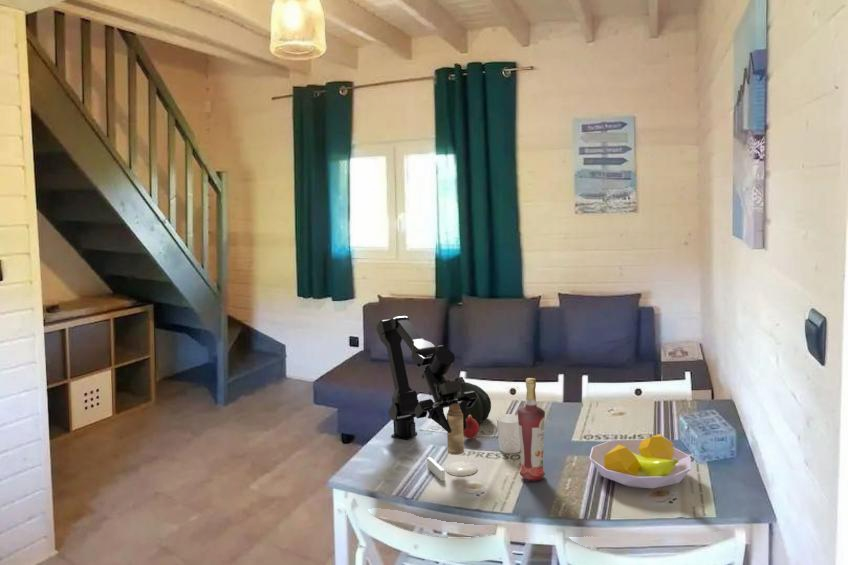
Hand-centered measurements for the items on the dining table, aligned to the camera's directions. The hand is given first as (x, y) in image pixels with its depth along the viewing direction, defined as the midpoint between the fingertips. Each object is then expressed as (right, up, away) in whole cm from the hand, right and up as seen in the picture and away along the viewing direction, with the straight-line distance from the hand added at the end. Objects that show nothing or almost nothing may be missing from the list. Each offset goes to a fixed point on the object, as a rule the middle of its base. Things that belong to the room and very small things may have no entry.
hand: (457, 430), depth 183 cm
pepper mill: (0, -6, +2) cm, 7 cm away
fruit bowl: (+49, -12, -7) cm, 51 cm away
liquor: (+20, -12, -4) cm, 24 cm away
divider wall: (-6, -13, +1) cm, 14 cm away
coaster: (+1, -12, +4) cm, 13 cm away
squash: (+7, -7, +44) cm, 45 cm away
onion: (+5, -9, +27) cm, 29 cm away
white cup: (+17, -10, +17) cm, 26 cm away
